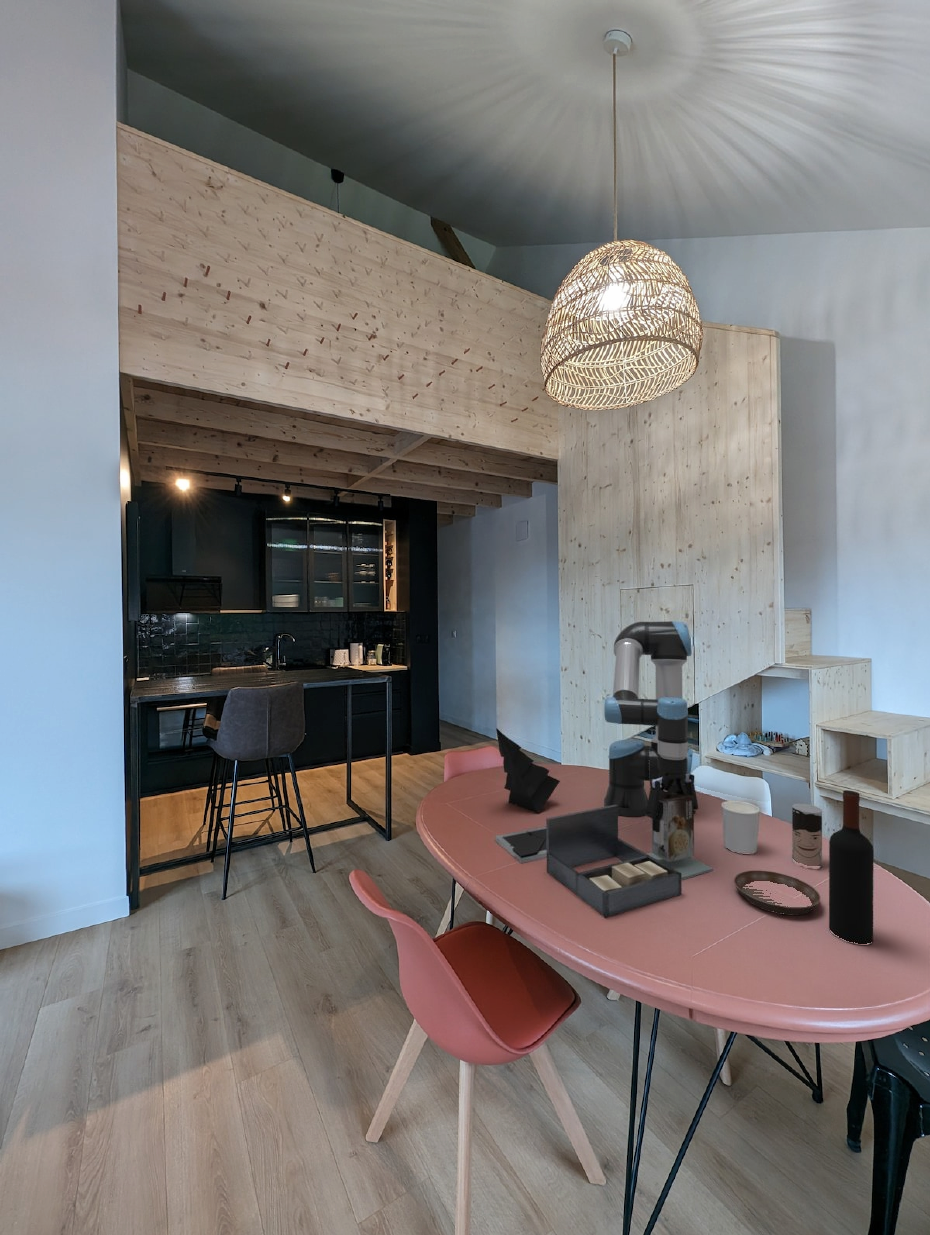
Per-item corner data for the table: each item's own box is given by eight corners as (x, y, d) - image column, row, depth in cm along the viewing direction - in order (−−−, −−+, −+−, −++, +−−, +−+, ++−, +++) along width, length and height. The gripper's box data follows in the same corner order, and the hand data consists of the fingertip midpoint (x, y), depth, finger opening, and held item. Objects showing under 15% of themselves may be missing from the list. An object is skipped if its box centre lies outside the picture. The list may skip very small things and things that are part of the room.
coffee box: (676, 846, 149) (676, 789, 149) (694, 856, 143) (694, 796, 143) (650, 853, 145) (650, 793, 145) (668, 863, 139) (668, 801, 139)
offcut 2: (649, 880, 136) (649, 861, 136) (667, 891, 131) (667, 871, 131) (634, 885, 134) (634, 865, 134) (651, 896, 129) (651, 875, 129)
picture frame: (521, 866, 146) (584, 851, 154) (521, 855, 146) (584, 841, 154) (495, 843, 160) (554, 831, 168) (495, 833, 160) (554, 822, 168)
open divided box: (615, 854, 151) (615, 804, 150) (681, 894, 129) (681, 836, 129) (546, 871, 141) (546, 818, 141) (605, 917, 120) (605, 855, 119)
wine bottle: (820, 925, 116) (820, 787, 116) (853, 923, 117) (853, 786, 117) (848, 946, 109) (848, 799, 108) (882, 944, 109) (883, 798, 109)
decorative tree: (512, 810, 193) (468, 740, 180) (535, 779, 201) (494, 710, 188) (542, 822, 182) (498, 748, 169) (566, 789, 189) (525, 716, 176)
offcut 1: (607, 893, 130) (607, 875, 130) (621, 906, 124) (621, 887, 124) (589, 897, 129) (589, 878, 129) (603, 910, 123) (603, 890, 123)
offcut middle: (627, 886, 133) (627, 862, 133) (645, 898, 128) (645, 873, 128) (611, 891, 131) (611, 866, 131) (629, 903, 126) (628, 877, 126)
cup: (786, 860, 146) (786, 806, 146) (802, 856, 149) (802, 802, 149) (811, 871, 140) (811, 814, 140) (827, 866, 143) (827, 810, 143)
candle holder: (764, 848, 154) (764, 806, 154) (754, 859, 147) (754, 816, 147) (727, 838, 161) (727, 798, 160) (716, 849, 153) (716, 807, 153)
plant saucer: (721, 880, 136) (721, 868, 136) (792, 881, 136) (792, 869, 136) (756, 921, 118) (756, 907, 118) (838, 922, 118) (838, 908, 118)
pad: (671, 849, 153) (671, 847, 153) (713, 870, 141) (713, 868, 141) (634, 859, 148) (633, 857, 148) (673, 882, 135) (673, 880, 135)
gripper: (690, 748, 152) (690, 827, 152) (631, 757, 143) (631, 841, 143) (713, 754, 145) (713, 837, 145) (651, 764, 136) (651, 853, 136)
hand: (672, 839), depth 144 cm, fingers closed on coffee box, 9 cm apart
